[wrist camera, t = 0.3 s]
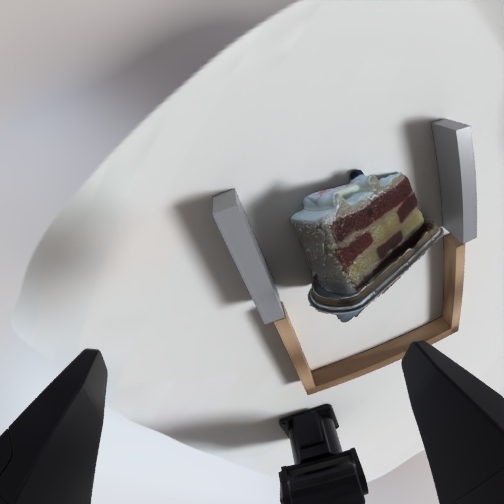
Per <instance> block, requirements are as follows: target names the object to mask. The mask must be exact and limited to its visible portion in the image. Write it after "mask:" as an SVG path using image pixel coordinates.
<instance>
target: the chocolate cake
mask: <svg viewBox="0 0 504 504" xmlns="http://www.w3.org/2000/svg"><path fill="white" fill-rule="evenodd" d="M303 206H304V209H303V210H302V211H299V212H296V213H295V214H293V215H292V216H291V219H290V221H291V223H292V225H293V227H294V229H295V231H296V232H297V234H298V235H299V238H300V244H301V246H302V248H303V250H304V253H305V254H306V257H307V259H308V262H309V265H310V268H311V271H312V278H313V281H312V288H311V289H310V291H309V293H308V300H309V303H310V306H313V307H314V308H316V310H318V312H323V313H326V314H328V313H331V314H335V315H337V317H338V319H341V322H347V321H349V320H351V319H352V318H353V316H355V317H357V316H358V315H359V313H360V312H361V311H362V310H364V308H365V307H367V306H368V305H369V304H370V303H371V302H372V301H374V300H375V299H376V298H377V297H379V295H380V294H381V293H382V294H383V293H384V292H385V291H386V290H387V289H388V288H389V287H390V286H392V285H393V284H394V283H395V282H396V281H397V280H398V279H399V278H400V276H401V275H403V274H404V273H405V272H406V271H407V270H408V268H409V267H411V265H413V263H415V262H416V261H417V260H419V259H420V257H422V255H424V254H425V252H426V250H428V248H429V247H430V246H431V245H432V244H435V243H437V241H438V240H439V238H440V237H442V236H443V233H444V230H443V228H440V227H437V225H436V224H435V222H434V221H424V218H423V216H422V213H421V211H420V210H419V209H418V207H417V199H416V197H415V192H414V191H413V190H412V188H411V185H410V182H409V180H408V178H407V177H406V176H405V175H403V174H402V173H401V172H400V173H397V174H395V175H389V176H388V177H386V178H381V179H380V180H379V181H378V179H377V177H376V176H375V175H373V176H369V177H366V176H365V175H364V174H363V172H362V171H361V170H354V171H353V172H352V173H351V180H350V183H349V184H347V185H343V186H339V187H336V188H331V189H327V190H323V191H319V192H315V193H313V194H311V195H308V196H306V197H305V198H304V199H303Z"/></svg>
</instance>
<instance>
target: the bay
mask: <svg viewBox="0 0 504 504" xmlns="http://www.w3.org/2000/svg"><path fill="white" fill-rule="evenodd" d="M431 125H432V131H433V136H434V142H435V149H436V156H437V163H438V171H439V180H440V189H441V200H442V214H443V227H444V228H445V229H446V230H447V231H449V232H450V233H451V234H452V235H454V236H455V237H456V238H457V239H458V240H459V241H461V242H462V243H463V244H464V243H466V242H468V241H470V240H472V239H474V238H476V237H477V190H476V171H475V158H474V147H473V138H472V130H471V126H469V125H466V124H462V123H459V122H456V121H452V120H449V119H443V120H439V121H435V122H432V123H431ZM212 215H213V217H214V220H215V222H216V224H217V226H218V228H219V230H220V232H221V234H222V237H223V239H224V241H225V243H226V245H227V247H228V249H229V251H230V253H231V255H232V258H233V260H234V262H235V264H236V266H237V268H238V270H239V272H240V274H241V276H242V278H243V280H244V283H245V285H246V287H247V289H248V291H249V293H250V295H251V297H252V299H253V301H254V303H255V305H256V307H257V309H258V311H259V313H260V316H261V318H262V320H263V322H264V324H267V323H270V322H273V321H276V320H279V319H282V318H285V316H284V312H283V308H282V305H281V301H280V297H279V293H278V290H277V288H276V286H275V283H274V281H273V278H272V276H271V274H270V271H269V269H268V266H267V264H266V262H265V259H264V257H263V254H262V252H261V250H260V247H259V245H258V243H257V240H256V238H255V235H254V233H253V231H252V228H251V226H250V223H249V221H248V219H247V216H246V214H245V212H244V209H243V207H242V205H241V202H240V200H239V197H238V195H237V193H236V190H235V188H234V189H232V190H229V191H227V192H224V193H222V194H219V195H217V196H214V197H213V209H212Z"/></svg>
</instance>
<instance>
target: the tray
mask: <svg viewBox="0 0 504 504" xmlns="http://www.w3.org/2000/svg"><path fill="white" fill-rule="evenodd" d="M464 263H465V243H464V244H463V243H462V242H461V241H459V240H458V239H457V238H456V237H455V236H454V235H452V234H449V235H447V236H444V293H443V313H442V317H440V318H438V319H436V320H434V321H432V322H430V323H428V324H426V325H424V326H422V327H419V328H417V329H415V330H413V331H411V332H409V333H407V334H404V335H402V336H400V337H398V338H395V339H393V340H391V341H389V342H386V343H384V344H382V345H379V346H377V347H375V348H372V349H370V350H367V351H365V352H362V353H360V354H357V355H355V356H352V357H350V358H347V359H344V360H342V361H339V362H337V363H334V364H331V365H328V366H326V367H323V368H320V369H317V370H314V371H310V368H309V366H308V363H307V361H306V358H305V356H304V353H303V351H302V349H301V346H300V344H299V341H298V339H297V336H296V334H295V332H294V329H293V327H292V324H291V322H290V319H289V317H288V315H287V312H286V310H285V307H284V305H283V303H282V302H281V305H282V308H283V312H284V316H285V318H282V319H279V320H276V321H274V324H275V326H276V328H277V330H278V332H279V334H280V337H281V339H282V341H283V343H284V345H285V347H286V350H287V352H288V354H289V356H290V358H291V360H292V362H293V365H294V367H295V369H296V371H297V373H298V375H299V377H300V380H301V382H302V384H303V386H304V388H305V390H306V392H307V395H310V394H313V393H316V392H319V391H322V390H324V389H327V388H330V387H333V386H336V385H339V384H341V383H344V382H347V381H349V380H352V379H354V378H357V377H360V376H362V375H365V374H367V373H370V372H372V371H374V370H377V369H379V368H382V367H384V366H386V365H389V364H391V363H393V362H395V361H398V360H400V359H402V358H403V357H404V355H405V353H406V351H407V349H408V347H409V345H410V343H411V342H413V341H418V340H424V341H426V342H427V343H429V344H430V345H432V344H434V343H436V342H438V341H440V340H441V339H443V338H445V337H447V336H449V335H451V334H453V333H455V332H457V331H458V328H459V320H460V312H461V303H462V293H463V280H464Z"/></svg>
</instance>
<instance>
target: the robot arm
mask: <svg viewBox="0 0 504 504" xmlns="http://www.w3.org/2000/svg"><path fill="white" fill-rule="evenodd" d="M402 369H403V373H404V377H405V381H406V385H407V390H408V394H409V398H410V402H411V406H412V410H413V413H414V416H415V419H416V422H417V425H418V428H419V431H420V435H421V438H422V441H423V444H424V448H425V451H426V454H427V458H428V461H429V465H430V468H431V472H432V475H433V479H434V483H435V487H436V491H437V495H438V499H439V503H440V504H504V398H503V397H502V396H501V395H500V394H498V393H497V392H496V391H494V390H493V389H492V388H490V387H489V386H487V385H486V384H485V383H483V382H482V381H481V380H479V379H478V378H476V377H475V376H474V375H472V374H471V373H470V372H468V371H467V370H465V369H464V368H463V367H461V366H460V365H458V364H457V363H456V362H454V361H453V360H451V359H450V358H449V357H447V356H446V355H444V354H443V353H442V352H440V351H439V350H437V349H436V348H434V347H433V346H432V345H430V344H429V343H427V342H426V341H424V340H418V341H413V342H411V343H410V345H409V347H408V349H407V351H406V353H405V355H404V357H403V359H402ZM106 385H107V368H106V365H105V362H104V360H103V357H102V354H101V352H100V351H99V350H98V349H85V350H83V351H82V352H81V353H80V354H79V355H78V356H77V357H76V358H75V359H74V360H73V361H72V362H71V363H70V364H69V365H68V366H67V367H66V368H65V369H64V370H63V371H62V372H61V373H60V374H59V375H58V376H57V377H56V378H55V379H54V380H53V381H52V382H51V383H50V384H49V385H48V386H47V387H46V388H45V389H44V390H43V391H42V393H41V394H40V395H39V396H38V397H37V398H36V399H35V400H34V401H33V402H32V403H31V404H30V405H29V406H28V407H27V408H26V409H25V410H24V411H23V412H22V413H21V415H20V416H19V417H18V418H17V419H16V420H15V421H14V422H13V423H12V424H11V425H10V426H9V429H6V431H5V432H4V433H3V434H2V435H1V436H0V504H91V496H92V488H93V481H94V474H95V467H96V461H97V455H98V449H99V443H100V437H101V432H102V426H103V419H104V406H105V395H106ZM279 424H280V426H281V427H282V428H283V430H284V431H285V433H286V434H287V435H288V437H289V438H290V442H291V447H292V453H293V458H294V463H295V465H291V466H287V467H286V466H283V467H281V469H282V471H281V472H279V478H280V502H281V504H365V498H364V495H366V494H368V487H367V482H366V479H365V475H364V472H363V469H362V467H361V464H360V461H359V458H358V456H357V453H356V450H355V448H351V449H350V450H347V451H344V452H342V449H341V445H340V442H339V438H338V435H337V431H336V429H337V428H338V427H339V425H338V422H337V419H336V416H335V414H334V411H333V408H332V406H331V405H326V406H323V407H320V408H317V409H314V410H310V411H307V412H304V413H301V414H298V415H294V416H291V417H288V418H284V419H281V420H279Z"/></svg>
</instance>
